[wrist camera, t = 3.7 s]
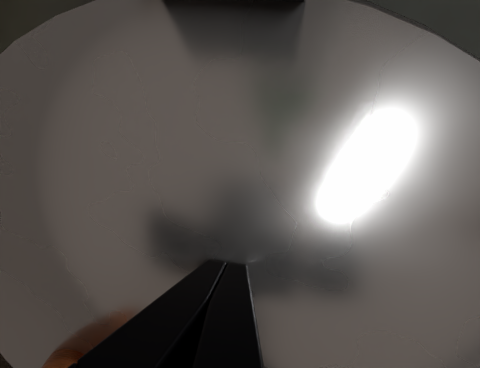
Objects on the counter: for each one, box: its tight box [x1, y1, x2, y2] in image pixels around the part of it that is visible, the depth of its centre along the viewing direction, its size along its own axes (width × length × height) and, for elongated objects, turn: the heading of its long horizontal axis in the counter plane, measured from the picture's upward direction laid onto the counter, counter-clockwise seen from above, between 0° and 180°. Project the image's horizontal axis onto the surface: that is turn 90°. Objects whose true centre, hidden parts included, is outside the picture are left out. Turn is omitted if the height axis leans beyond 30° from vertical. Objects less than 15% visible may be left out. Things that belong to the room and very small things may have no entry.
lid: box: [0, 0, 480, 368], centre depth 9 cm, size 21×15×2 cm
